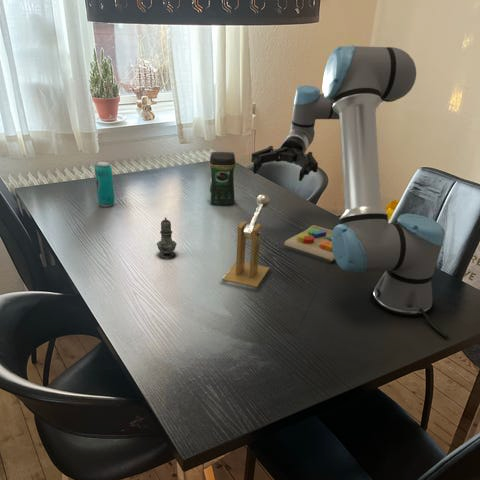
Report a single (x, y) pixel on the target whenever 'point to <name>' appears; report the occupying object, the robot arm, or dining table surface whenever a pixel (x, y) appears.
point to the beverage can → (104, 183)
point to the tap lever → (256, 215)
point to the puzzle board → (314, 242)
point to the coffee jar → (222, 178)
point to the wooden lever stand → (244, 271)
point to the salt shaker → (166, 241)
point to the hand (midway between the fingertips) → (277, 172)
